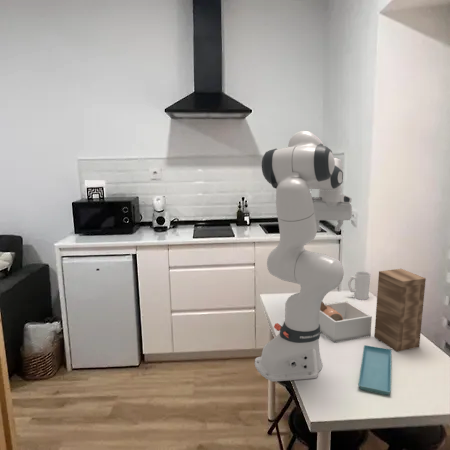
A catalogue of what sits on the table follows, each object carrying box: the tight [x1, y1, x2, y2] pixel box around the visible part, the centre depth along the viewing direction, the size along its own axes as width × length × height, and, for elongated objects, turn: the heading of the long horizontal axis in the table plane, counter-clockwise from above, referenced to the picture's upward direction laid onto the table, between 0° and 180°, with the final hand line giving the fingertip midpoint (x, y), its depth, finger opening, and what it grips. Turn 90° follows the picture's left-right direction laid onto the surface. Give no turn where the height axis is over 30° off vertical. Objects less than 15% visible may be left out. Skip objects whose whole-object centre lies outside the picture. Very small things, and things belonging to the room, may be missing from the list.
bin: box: [319, 301, 373, 343], centre depth 161 cm, size 16×16×8 cm
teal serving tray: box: [358, 345, 393, 396], centre depth 133 cm, size 26×9×2 cm, turn 158°
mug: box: [347, 271, 371, 301], centre depth 195 cm, size 10×7×12 cm, turn 92°
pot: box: [320, 301, 343, 321], centre depth 162 cm, size 16×7×7 cm
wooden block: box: [374, 268, 427, 352], centre depth 150 cm, size 10×12×26 cm
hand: (327, 231), depth 170 cm, fingers open, 8 cm apart
